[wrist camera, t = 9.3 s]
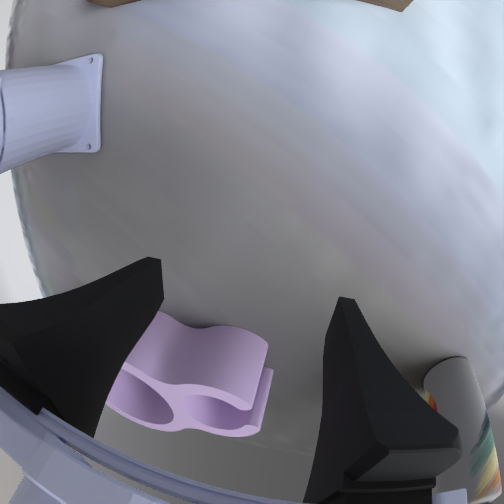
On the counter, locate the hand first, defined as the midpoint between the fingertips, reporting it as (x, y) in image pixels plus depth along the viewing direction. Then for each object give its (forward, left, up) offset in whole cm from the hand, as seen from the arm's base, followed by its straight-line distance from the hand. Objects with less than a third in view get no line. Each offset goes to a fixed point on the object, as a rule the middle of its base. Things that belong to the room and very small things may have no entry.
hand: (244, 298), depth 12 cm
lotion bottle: (+20, -13, -10) cm, 26 cm away
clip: (-8, -17, -10) cm, 21 cm away
